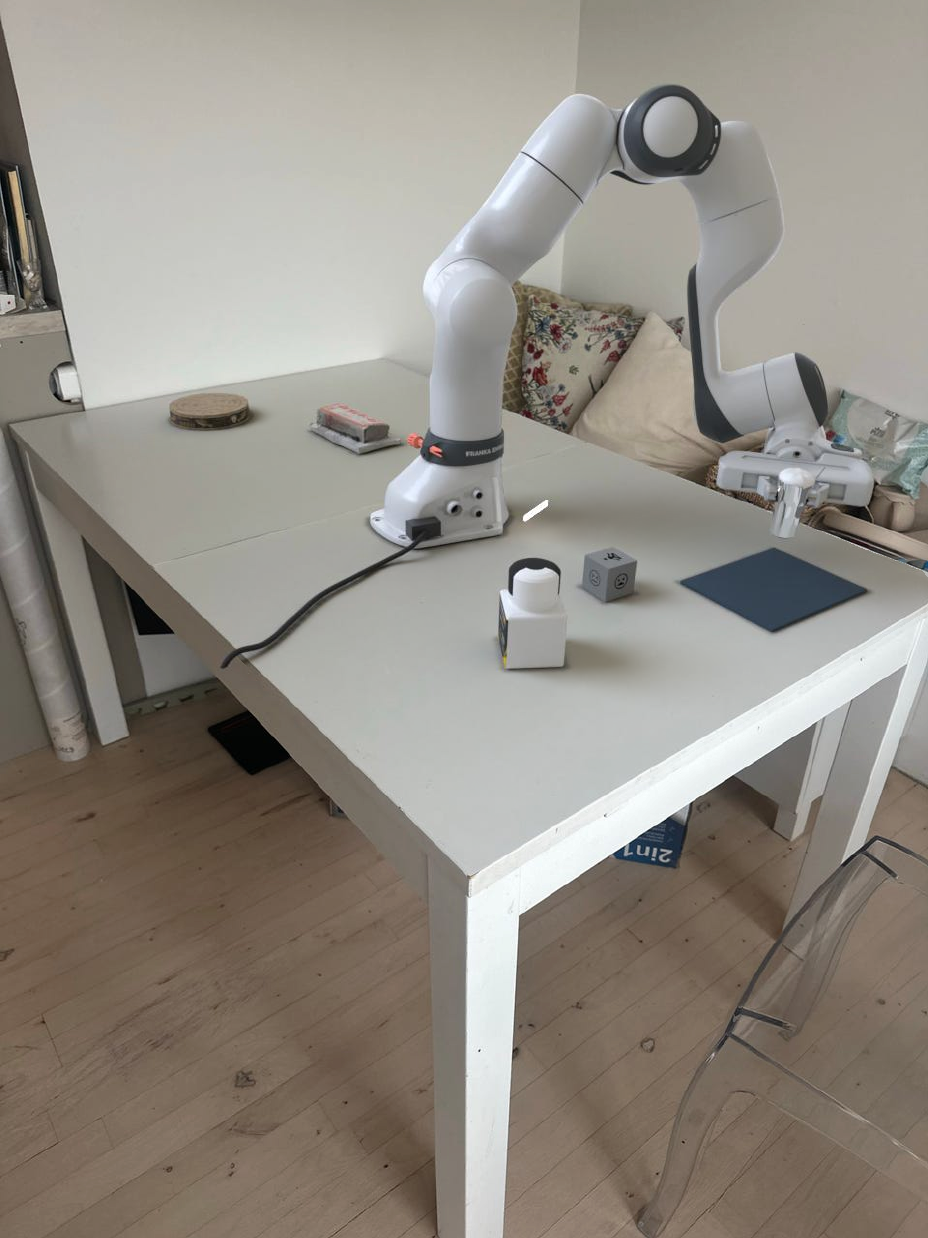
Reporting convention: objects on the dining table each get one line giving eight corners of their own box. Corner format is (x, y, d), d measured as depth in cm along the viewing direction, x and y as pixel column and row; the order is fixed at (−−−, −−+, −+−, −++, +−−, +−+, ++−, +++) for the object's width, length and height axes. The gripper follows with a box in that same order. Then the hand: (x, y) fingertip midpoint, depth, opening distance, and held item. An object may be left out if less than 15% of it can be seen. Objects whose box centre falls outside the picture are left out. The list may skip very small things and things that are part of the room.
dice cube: (633, 593, 125) (637, 560, 122) (605, 602, 122) (608, 569, 120) (609, 578, 128) (613, 546, 126) (581, 587, 126) (584, 554, 123)
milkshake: (807, 544, 120) (827, 473, 115) (765, 538, 121) (784, 468, 116) (803, 529, 124) (823, 461, 119) (763, 524, 125) (781, 455, 120)
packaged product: (306, 407, 180) (348, 398, 185) (308, 431, 182) (349, 421, 188) (358, 430, 168) (401, 420, 174) (359, 455, 170) (401, 444, 176)
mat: (771, 632, 116) (772, 629, 116) (680, 583, 127) (680, 580, 127) (866, 591, 126) (867, 589, 126) (773, 549, 137) (774, 547, 137)
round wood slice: (241, 403, 198) (239, 389, 196) (257, 424, 185) (256, 410, 184) (165, 411, 192) (163, 397, 191) (177, 434, 180) (175, 419, 178)
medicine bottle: (497, 638, 114) (500, 552, 108) (553, 636, 114) (560, 550, 108) (504, 670, 108) (508, 580, 101) (564, 667, 108) (571, 578, 102)
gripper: (723, 434, 132) (714, 466, 120) (874, 450, 126) (880, 486, 115) (716, 475, 135) (707, 510, 124) (863, 493, 129) (868, 531, 118)
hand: (792, 499), depth 119 cm, fingers closed on milkshake, 4 cm apart
